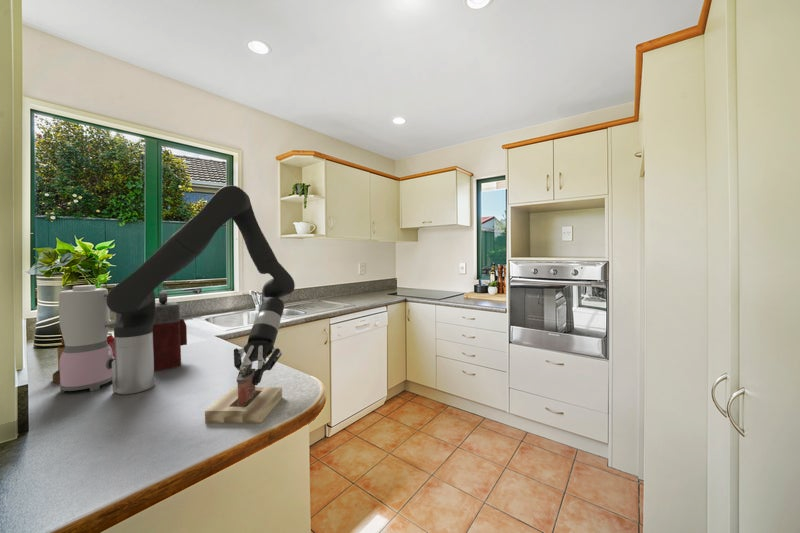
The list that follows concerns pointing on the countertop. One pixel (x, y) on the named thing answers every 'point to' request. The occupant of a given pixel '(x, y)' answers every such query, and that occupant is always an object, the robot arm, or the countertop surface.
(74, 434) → the countertop surface
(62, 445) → the countertop surface
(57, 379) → the mortar and pestle
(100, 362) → the blender
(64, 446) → the countertop surface
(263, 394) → the rail
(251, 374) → the lighter
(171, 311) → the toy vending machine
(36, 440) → the countertop surface
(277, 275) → the robot arm
